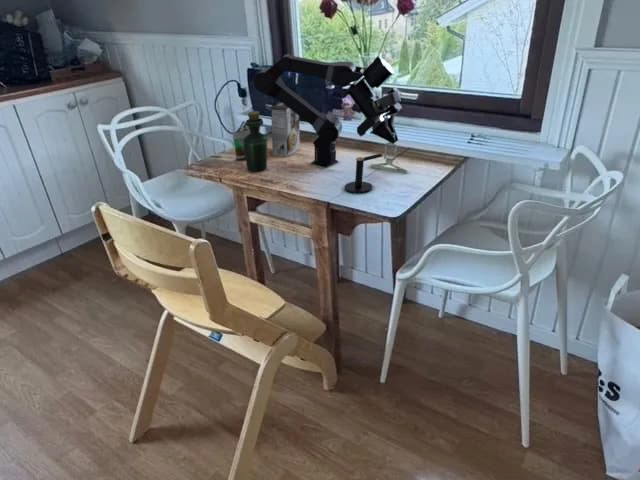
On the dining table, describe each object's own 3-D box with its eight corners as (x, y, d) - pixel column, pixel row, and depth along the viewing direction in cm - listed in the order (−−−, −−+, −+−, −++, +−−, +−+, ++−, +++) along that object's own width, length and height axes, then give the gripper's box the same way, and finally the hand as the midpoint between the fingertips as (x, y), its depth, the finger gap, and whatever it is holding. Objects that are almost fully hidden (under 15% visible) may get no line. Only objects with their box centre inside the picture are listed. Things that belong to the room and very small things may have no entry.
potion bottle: (273, 168, 173) (271, 112, 162) (253, 175, 170) (249, 117, 159) (260, 163, 179) (257, 107, 168) (240, 169, 176) (236, 113, 165)
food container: (251, 162, 180) (249, 132, 174) (235, 162, 182) (232, 132, 176) (261, 150, 189) (260, 122, 183) (245, 150, 191) (243, 122, 184)
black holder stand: (339, 187, 155) (340, 157, 150) (372, 178, 158) (374, 149, 153) (354, 195, 149) (356, 165, 144) (388, 187, 152) (391, 156, 147)
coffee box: (284, 147, 190) (283, 100, 180) (300, 149, 186) (300, 101, 176) (271, 155, 184) (270, 106, 174) (287, 157, 181) (286, 108, 171)
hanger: (406, 173, 159) (411, 136, 152) (369, 167, 166) (372, 131, 159) (407, 172, 159) (412, 135, 153) (371, 166, 166) (374, 130, 159)
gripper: (369, 87, 144) (402, 133, 145) (399, 73, 154) (429, 115, 155) (343, 114, 153) (373, 157, 154) (373, 99, 164) (401, 139, 164)
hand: (395, 141), depth 156 cm, fingers closed on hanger, 1 cm apart
